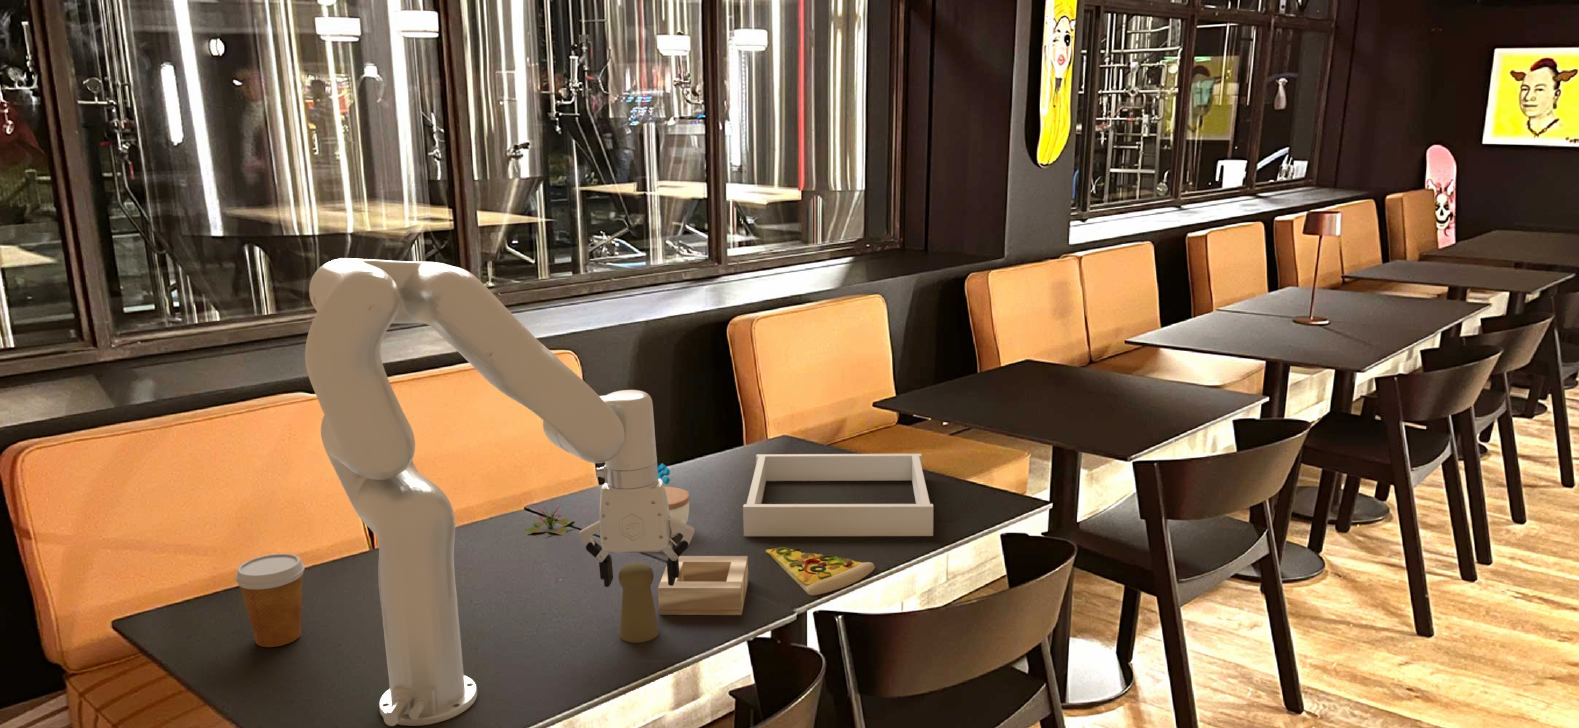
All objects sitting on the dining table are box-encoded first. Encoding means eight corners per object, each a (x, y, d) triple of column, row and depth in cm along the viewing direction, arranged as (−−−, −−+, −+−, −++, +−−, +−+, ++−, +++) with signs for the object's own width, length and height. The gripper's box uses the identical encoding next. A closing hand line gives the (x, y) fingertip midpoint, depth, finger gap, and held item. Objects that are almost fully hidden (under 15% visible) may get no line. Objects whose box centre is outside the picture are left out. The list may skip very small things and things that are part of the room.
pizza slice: (818, 602, 179) (818, 585, 178) (734, 568, 193) (733, 552, 193) (882, 575, 189) (882, 558, 189) (797, 544, 204) (797, 529, 203)
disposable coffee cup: (293, 618, 175) (284, 547, 172) (324, 635, 169) (315, 561, 167) (232, 640, 168) (222, 566, 165) (262, 658, 162) (252, 582, 159)
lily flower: (537, 548, 204) (535, 524, 203) (507, 530, 213) (505, 508, 212) (594, 532, 211) (592, 509, 210) (563, 516, 220) (561, 494, 219)
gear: (621, 497, 226) (649, 456, 229) (640, 511, 230) (668, 471, 232) (647, 511, 218) (676, 469, 220) (667, 525, 221) (695, 484, 223)
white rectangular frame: (933, 537, 204) (933, 506, 203) (743, 537, 206) (743, 506, 204) (920, 480, 236) (920, 453, 235) (757, 481, 238) (756, 454, 237)
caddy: (741, 615, 173) (740, 588, 172) (659, 614, 174) (657, 588, 173) (748, 581, 186) (747, 556, 185) (671, 581, 187) (670, 556, 186)
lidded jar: (698, 540, 205) (696, 492, 203) (641, 549, 201) (639, 500, 199) (681, 521, 215) (679, 475, 213) (627, 529, 211) (625, 482, 209)
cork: (651, 644, 164) (648, 574, 162) (613, 641, 165) (609, 572, 163) (664, 626, 170) (661, 559, 168) (626, 623, 171) (623, 556, 169)
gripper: (567, 484, 159) (578, 594, 163) (687, 481, 158) (694, 592, 162) (579, 467, 167) (589, 573, 170) (693, 465, 166) (700, 571, 170)
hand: (640, 582), depth 166 cm, fingers open, 9 cm apart
